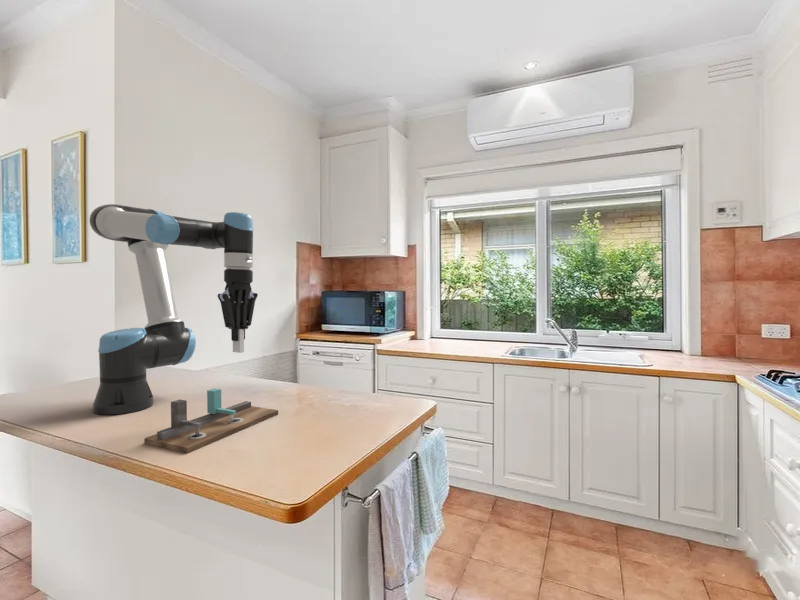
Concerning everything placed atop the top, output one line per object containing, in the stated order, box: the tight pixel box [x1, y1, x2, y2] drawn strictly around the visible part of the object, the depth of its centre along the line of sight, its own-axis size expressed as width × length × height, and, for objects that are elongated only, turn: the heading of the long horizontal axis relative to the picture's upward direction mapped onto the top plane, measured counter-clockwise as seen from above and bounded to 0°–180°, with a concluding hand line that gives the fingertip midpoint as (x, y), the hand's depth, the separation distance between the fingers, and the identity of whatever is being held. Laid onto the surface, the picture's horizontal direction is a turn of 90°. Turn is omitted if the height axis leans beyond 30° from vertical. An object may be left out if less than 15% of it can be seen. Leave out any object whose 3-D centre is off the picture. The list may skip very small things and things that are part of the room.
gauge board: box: [143, 399, 279, 454], centre depth 107 cm, size 14×30×9 cm, turn 157°
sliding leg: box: [206, 387, 236, 421], centre depth 109 cm, size 8×2×7 cm, turn 67°
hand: (238, 351), depth 118 cm, fingers closed
